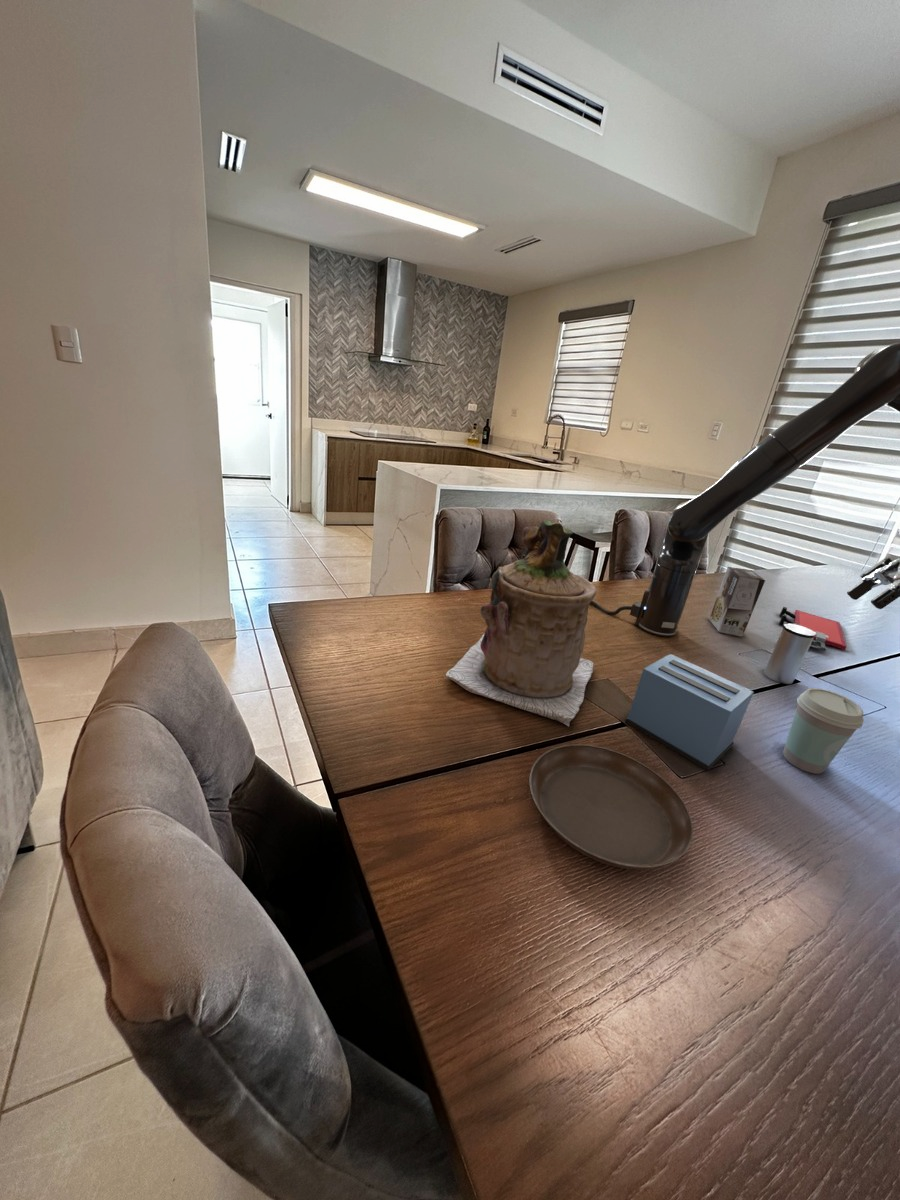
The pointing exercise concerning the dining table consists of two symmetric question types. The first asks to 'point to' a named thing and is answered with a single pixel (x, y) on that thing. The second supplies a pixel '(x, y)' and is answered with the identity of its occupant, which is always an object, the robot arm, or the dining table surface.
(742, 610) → the coffee box
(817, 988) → the dining table surface
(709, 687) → the toaster
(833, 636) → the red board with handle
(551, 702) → the cookie jar
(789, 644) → the canister
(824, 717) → the coffee cup
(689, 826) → the plant saucer
